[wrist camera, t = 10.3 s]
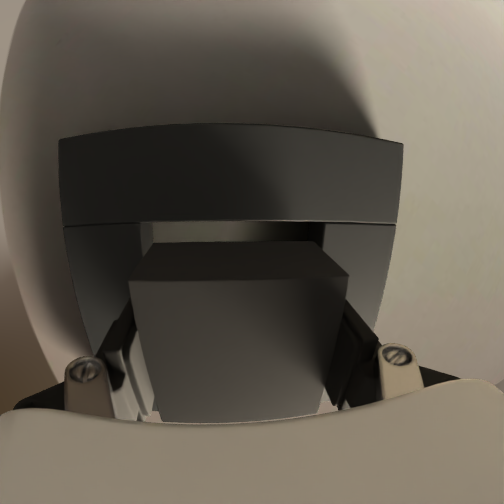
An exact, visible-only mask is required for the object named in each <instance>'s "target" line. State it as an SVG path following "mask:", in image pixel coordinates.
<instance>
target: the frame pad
mask: <svg viewBox="0 0 504 504" xmlns="http://www.w3.org/2000/svg"><path fill="white" fill-rule="evenodd" d="M58 164H59V188H60V201H61V212H62V221H63V226H64V227H63V230H64V238H65V244H66V250H67V256H68V262H69V267H70V272H71V277H72V281H73V286H74V290H75V294H76V298H77V302H78V306H79V310H80V314H81V317H82V321H83V324H84V327H85V331H86V334H87V337H88V340H89V343H90V346H91V349H92V352H93V355H94V357H95V355H96V353H97V351H98V349H99V347H100V346H101V344H102V342H103V340H104V338H105V336H106V334H107V332H108V330H109V328H110V327H111V325H112V323H113V321H114V320H116V319H118V318H119V316H120V314H121V313H122V311H123V309H124V307H125V305H126V303H127V302H128V300H129V298H130V292H129V286H128V279H129V277H130V276H131V274H132V273H133V271H134V270H135V268H136V267H137V266H138V264H139V263H140V261H141V260H142V258H143V257H144V255H145V254H146V253H147V251H148V250H149V248H150V247H151V246H152V244H153V231H152V222H189V221H309V233H308V241H313V242H315V243H316V244H317V245H318V246H319V247H320V248H321V249H322V250H323V251H324V252H325V253H327V254H328V255H329V256H330V257H331V258H332V259H333V260H334V261H335V262H336V263H337V264H338V265H339V266H340V267H341V268H342V269H344V270H345V271H346V272H347V273H348V274H349V276H350V278H349V284H348V290H347V295H346V300H347V301H348V302H349V303H350V304H351V306H352V307H353V308H354V309H355V310H356V312H357V313H358V314H359V315H360V316H361V318H362V319H363V320H364V321H365V322H366V324H367V325H368V326H369V327H370V329H371V330H372V331H373V332H374V328H375V325H376V321H377V317H378V314H379V310H380V306H381V302H382V298H383V293H384V289H385V285H386V280H387V275H388V270H389V265H390V260H391V255H392V249H393V243H394V237H395V231H396V225H395V224H396V223H397V217H398V209H399V200H400V191H401V179H402V165H403V144H402V143H398V142H394V141H389V140H384V139H379V138H374V137H369V136H363V135H357V134H351V133H345V132H338V131H330V130H323V129H314V128H305V127H295V126H282V125H267V124H244V123H193V124H170V125H156V126H144V127H134V128H125V129H116V130H109V131H102V132H95V133H89V134H83V135H78V136H72V137H67V138H62V139H59V141H58ZM328 401H330V399H329V396H328V394H327V392H326V390H324V393H323V396H322V400H321V403H323V402H328ZM152 411H158V408H157V404H156V401H155V398H154V401H153V407H152Z"/></svg>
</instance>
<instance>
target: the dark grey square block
mask: <svg viewBox="0 0 504 504" xmlns="http://www.w3.org/2000/svg"><path fill="white" fill-rule="evenodd" d="M349 278H350V276H349V274H348V273H347V272H346V271H345V270H344V269H342V268H341V267H340V266H339V265H338V264H337V263H336V262H335V261H334V260H333V259H332V258H331V257H330V256H329V255H328V254H327V253H325V252H324V251H323V250H322V249H321V248H320V247H319V246H318V245H317V244H316V243H315V242H313V241H271V242H180V243H153V244H152V246H151V247H150V248H149V250H148V251H147V253H146V254H145V255H144V257H143V258H142V260H141V261H140V263H139V264H138V266H137V267H136V268H135V270H134V271H133V273H132V274H131V276H130V277H129V279H128V286H129V292H130V298H131V304H132V309H133V314H134V319H135V324H136V329H137V330H138V334H139V339H140V343H141V347H142V352H143V356H144V360H145V364H146V367H147V371H148V375H149V379H150V382H151V386H152V389H153V392H154V398H155V401H156V404H157V408H158V411H159V414H160V417H161V420H162V421H163V422H178V423H232V422H250V421H263V420H273V419H282V418H290V417H298V416H304V415H311V414H317V413H318V410H319V407H320V403H321V400H322V396H323V393H324V390H325V384H326V380H327V377H328V373H329V369H330V365H331V361H332V357H333V353H334V349H335V345H336V340H337V336H338V331H339V327H340V322H341V320H342V316H343V311H344V306H345V300H346V295H347V290H348V284H349Z"/></svg>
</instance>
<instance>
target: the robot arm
mask: <svg viewBox="0 0 504 504" xmlns="http://www.w3.org/2000/svg"><path fill="white" fill-rule="evenodd" d="M378 340H379V338H378V337H377V336H376V335H375V333H374V332H373V331H372V330H371V329H370V327H369V326H368V325H367V324H366V322H365V321H364V320H363V319H362V318H361V316H360V315H359V314H358V313H357V312H356V310H355V309H354V308H353V307H352V306H351V304H350V303H349V302H348V301H347V300H345V306H344V311H343V316H342V320H341V322H340V327H339V331H338V336H337V340H336V345H335V349H334V353H333V357H332V361H331V365H330V369H329V373H328V377H327V380H326V384H325V390H326V392H327V394H328V396H329V399H330V401H331V403H332V405H333V406H336V405H337V408H338V410H339V411H335V412H330V413H325V414H319V415H313V416H307V417H300V418H293V419H285V420H277V421H267V422H255V423H240V424H206V425H198V424H166V423H151V422H145V420H146V416H150V415H151V412H152V407H153V401H154V392H153V389H152V386H151V382H150V379H149V375H148V371H147V367H146V364H145V360H144V356H143V352H142V347H141V343H140V339H139V334H138V330H137V329H136V324H135V319H134V314H133V309H132V304H131V298H129V300H128V302H127V303H126V305H125V307H124V309H123V311H122V313H121V314H120V316H119V318H118V319H116V320H114V321H113V323H112V325H111V327H110V328H109V330H108V332H107V334H106V336H105V338H104V340H103V342H102V344H101V346H100V347H99V349H98V351H97V353H96V355H95V357H94V356H83V357H79V358H77V359H75V360H73V361H72V362H70V363H69V364H68V366H67V367H66V369H65V377H64V382H62V383H60V384H57V385H55V386H53V387H50V388H48V389H46V390H43V391H41V392H39V393H36V394H34V395H32V396H29V397H27V398H25V399H23V400H21V401H19V402H18V403H17V404H16V405H15V407H14V409H13V410H12V411H9V412H6V413H4V414H2V415H0V504H504V394H503V393H502V392H501V391H500V390H499V389H498V388H497V387H495V386H494V385H493V384H491V383H490V382H488V381H485V380H480V379H460V378H458V377H455V376H452V375H448V374H445V373H441V372H438V371H435V370H431V369H428V368H425V367H421V366H418V363H417V359H416V356H415V354H414V352H413V351H412V350H411V349H409V348H408V347H406V346H404V345H401V344H396V343H388V344H384V345H383V346H382V345H381V343H380V342H379V341H378Z"/></svg>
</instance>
